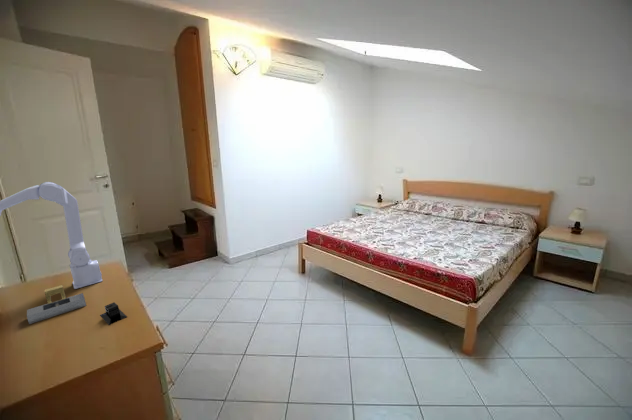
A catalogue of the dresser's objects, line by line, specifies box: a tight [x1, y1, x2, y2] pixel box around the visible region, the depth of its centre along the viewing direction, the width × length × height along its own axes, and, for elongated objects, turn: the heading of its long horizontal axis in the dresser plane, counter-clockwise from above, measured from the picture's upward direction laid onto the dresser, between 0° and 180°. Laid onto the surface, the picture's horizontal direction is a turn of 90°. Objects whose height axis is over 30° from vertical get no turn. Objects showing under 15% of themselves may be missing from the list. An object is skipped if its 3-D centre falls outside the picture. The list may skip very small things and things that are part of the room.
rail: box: [26, 292, 87, 325], centre depth 100 cm, size 15×5×3 cm, turn 134°
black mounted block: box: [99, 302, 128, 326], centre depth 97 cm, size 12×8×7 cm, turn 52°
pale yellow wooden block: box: [44, 284, 67, 304], centre depth 105 cm, size 5×2×6 cm, turn 134°
